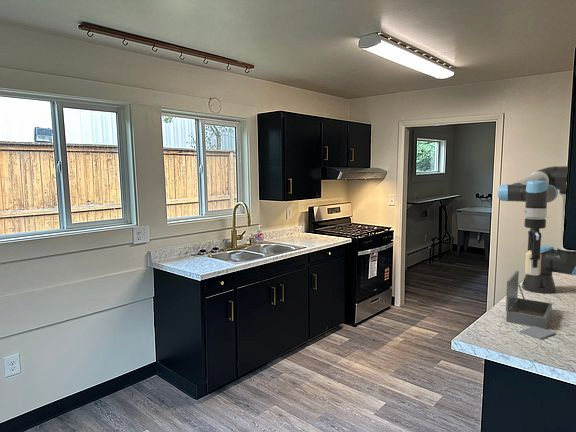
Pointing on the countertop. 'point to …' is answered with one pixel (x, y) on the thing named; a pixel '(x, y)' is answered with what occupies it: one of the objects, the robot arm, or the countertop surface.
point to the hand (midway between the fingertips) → (532, 273)
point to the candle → (528, 263)
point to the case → (524, 306)
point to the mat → (537, 332)
